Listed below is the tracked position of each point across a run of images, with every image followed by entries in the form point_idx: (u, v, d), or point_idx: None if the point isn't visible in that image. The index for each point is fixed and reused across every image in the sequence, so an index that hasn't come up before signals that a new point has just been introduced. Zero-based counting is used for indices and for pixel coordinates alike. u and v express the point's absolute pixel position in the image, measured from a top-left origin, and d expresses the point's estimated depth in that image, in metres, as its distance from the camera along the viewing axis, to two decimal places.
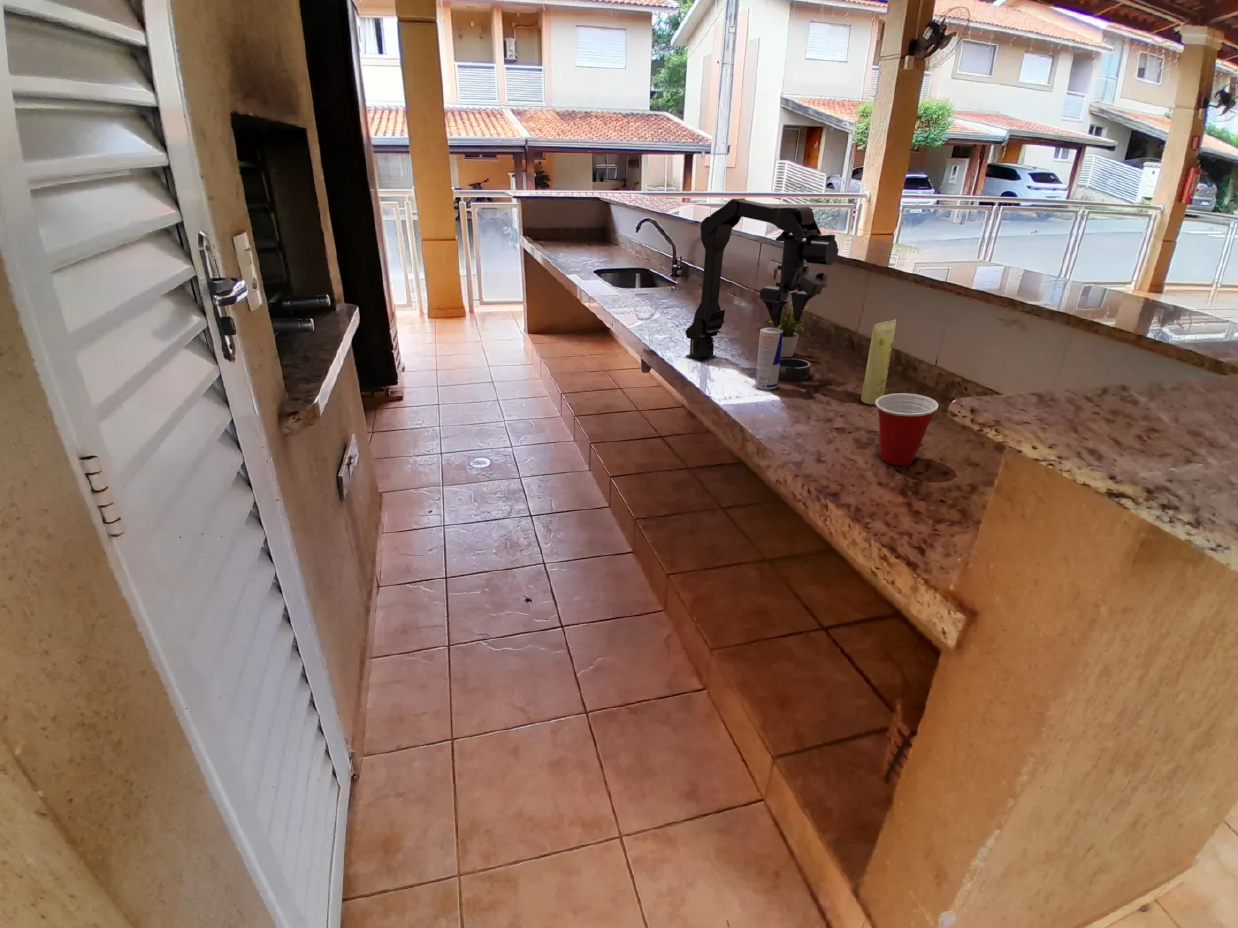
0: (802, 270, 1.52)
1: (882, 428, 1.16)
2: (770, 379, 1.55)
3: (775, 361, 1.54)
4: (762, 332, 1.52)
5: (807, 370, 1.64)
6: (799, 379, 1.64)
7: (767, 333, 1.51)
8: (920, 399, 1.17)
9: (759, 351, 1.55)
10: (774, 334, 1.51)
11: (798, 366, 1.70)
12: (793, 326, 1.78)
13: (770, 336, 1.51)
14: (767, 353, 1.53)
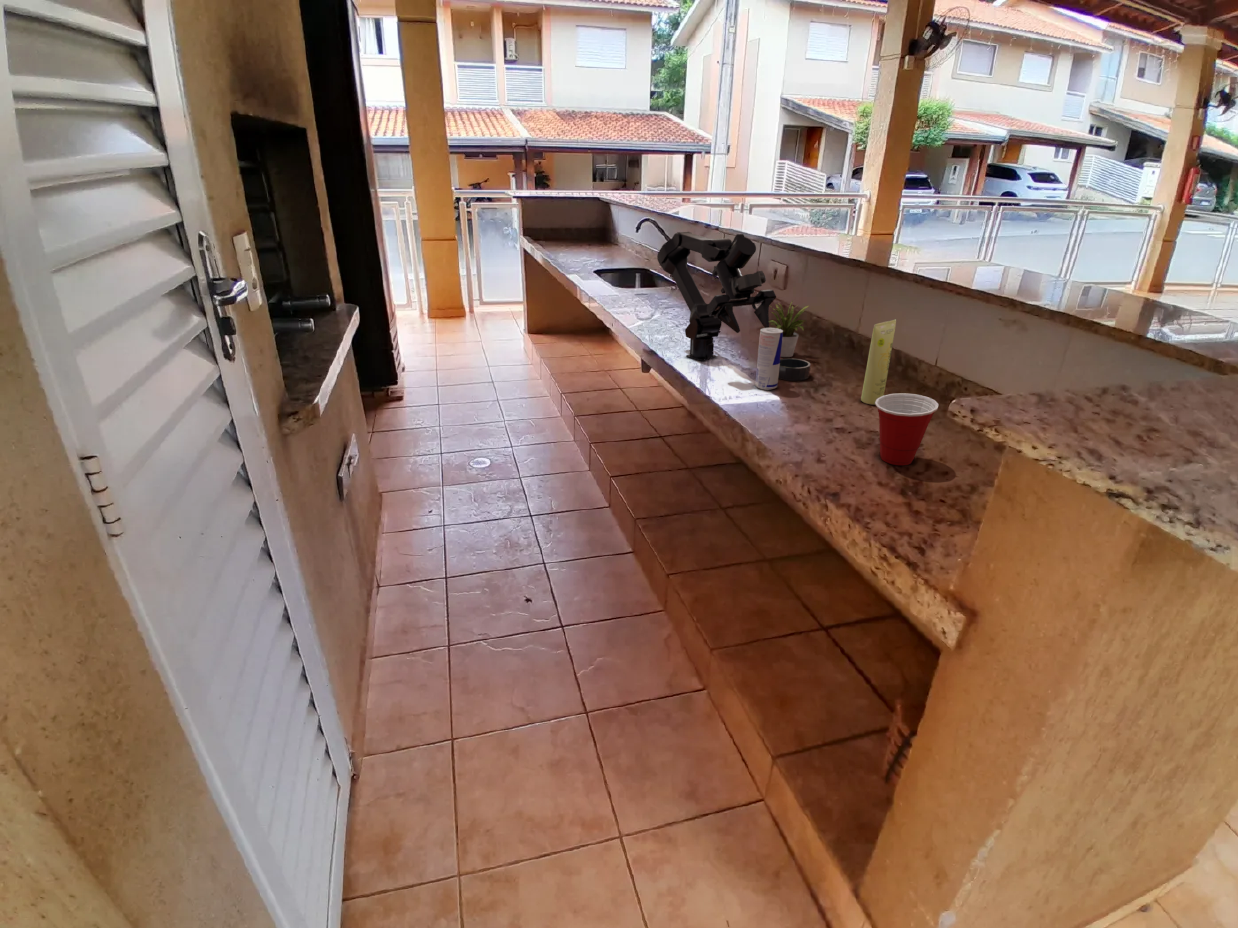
0: None
1: (882, 428, 1.16)
2: (770, 379, 1.55)
3: (775, 361, 1.54)
4: (762, 332, 1.52)
5: (807, 370, 1.64)
6: (799, 379, 1.64)
7: (767, 333, 1.51)
8: (920, 399, 1.17)
9: (759, 351, 1.55)
10: (774, 334, 1.51)
11: (798, 366, 1.70)
12: (793, 326, 1.78)
13: (770, 336, 1.51)
14: (767, 353, 1.53)
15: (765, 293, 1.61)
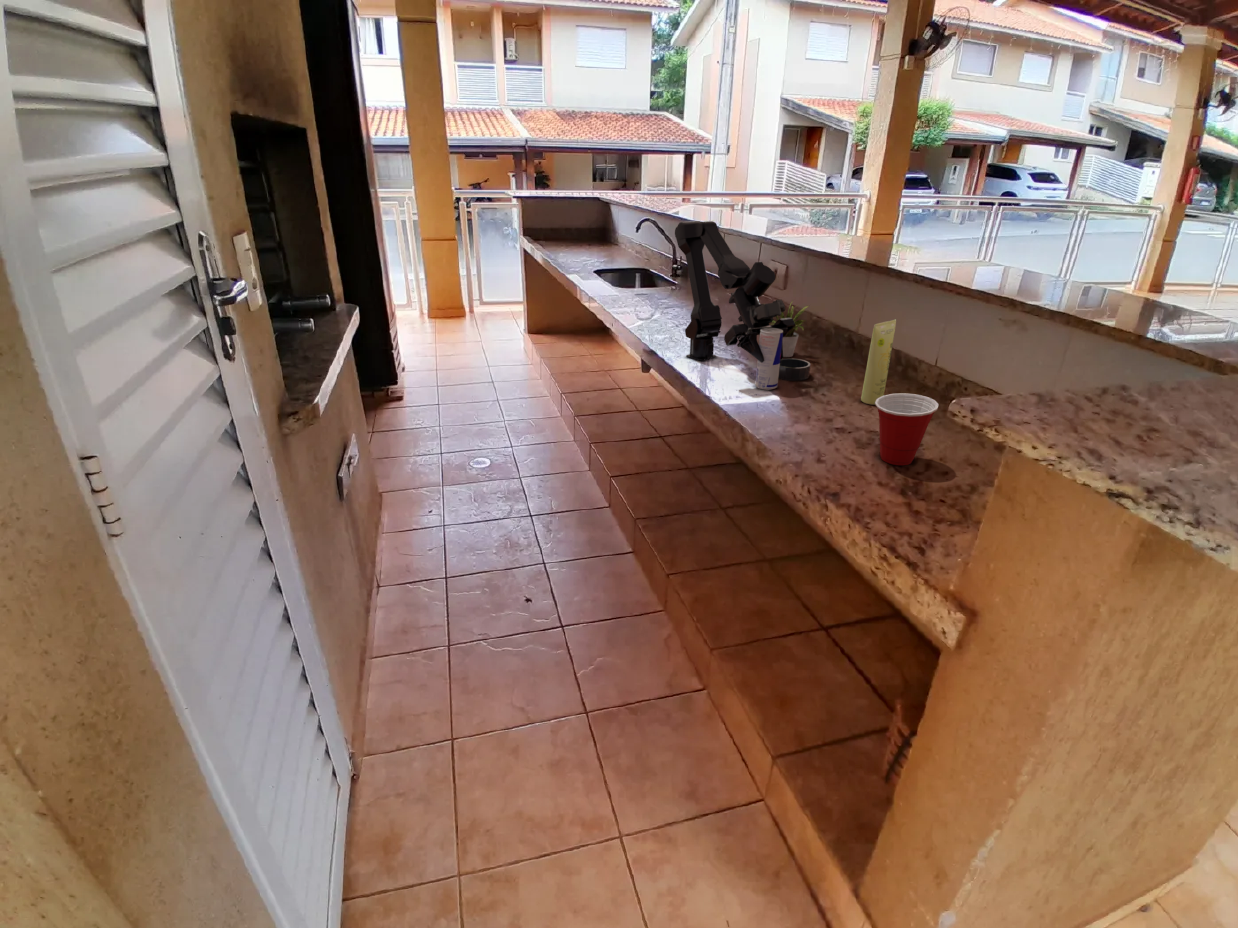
0: None
1: (882, 428, 1.16)
2: (770, 379, 1.55)
3: (775, 361, 1.54)
4: (762, 332, 1.52)
5: (807, 370, 1.64)
6: (799, 379, 1.64)
7: (767, 333, 1.51)
8: (920, 399, 1.17)
9: None
10: (774, 334, 1.51)
11: (798, 366, 1.70)
12: None
13: (770, 336, 1.51)
14: (767, 353, 1.53)
15: (784, 322, 1.57)
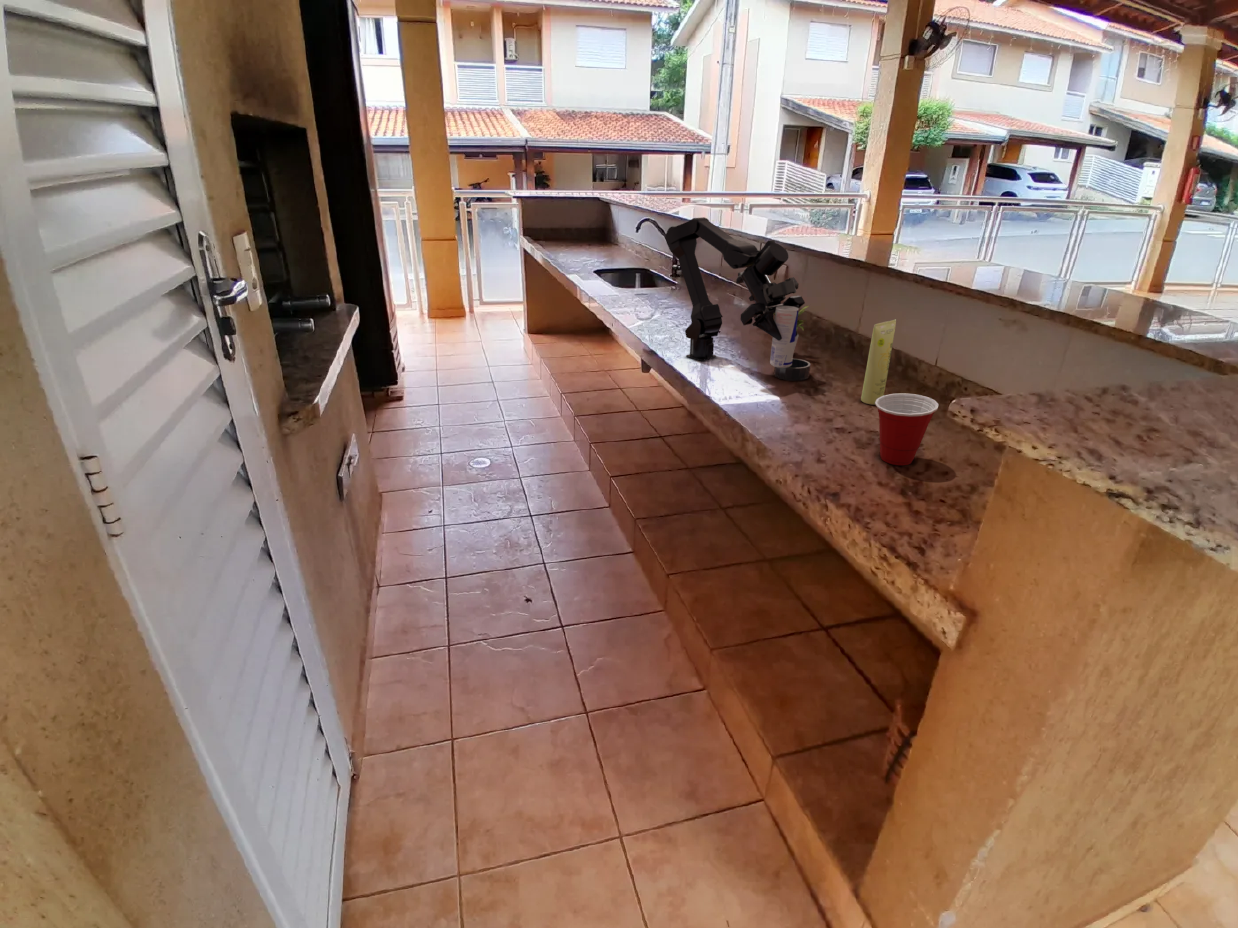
0: (769, 286, 1.57)
1: (882, 428, 1.16)
2: (787, 357, 1.57)
3: (792, 338, 1.55)
4: (779, 310, 1.53)
5: (807, 370, 1.64)
6: (799, 379, 1.64)
7: (785, 311, 1.52)
8: (920, 399, 1.17)
9: None
10: (792, 312, 1.52)
11: (798, 366, 1.70)
12: None
13: (788, 314, 1.52)
14: (784, 331, 1.54)
15: (795, 300, 1.58)
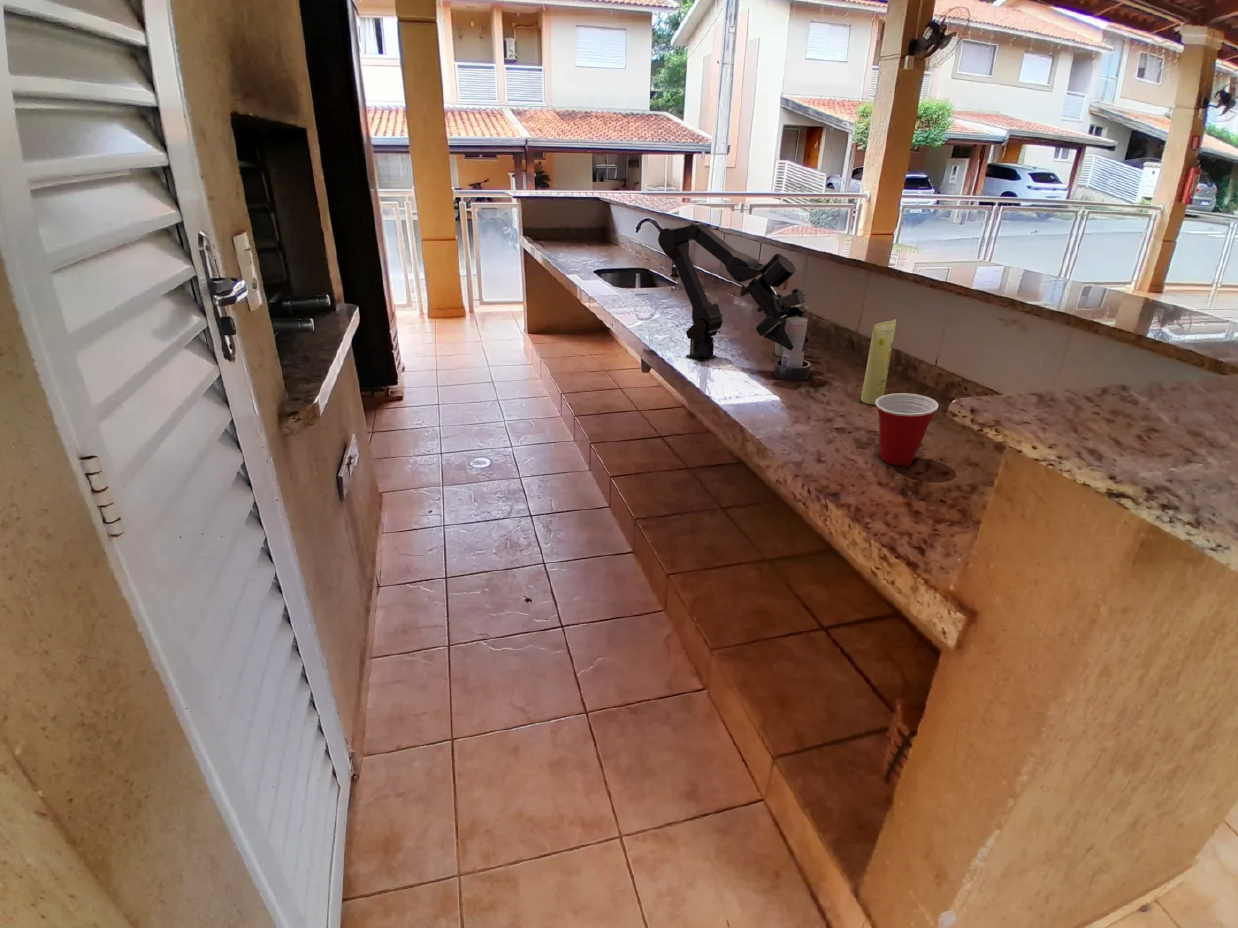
0: (777, 297, 1.63)
1: (882, 428, 1.16)
2: (799, 365, 1.64)
3: (803, 347, 1.63)
4: (791, 322, 1.60)
5: (807, 370, 1.64)
6: (799, 379, 1.64)
7: (797, 322, 1.59)
8: (920, 399, 1.17)
9: None
10: (804, 322, 1.59)
11: None
12: None
13: (800, 324, 1.59)
14: (797, 341, 1.61)
15: (799, 308, 1.66)
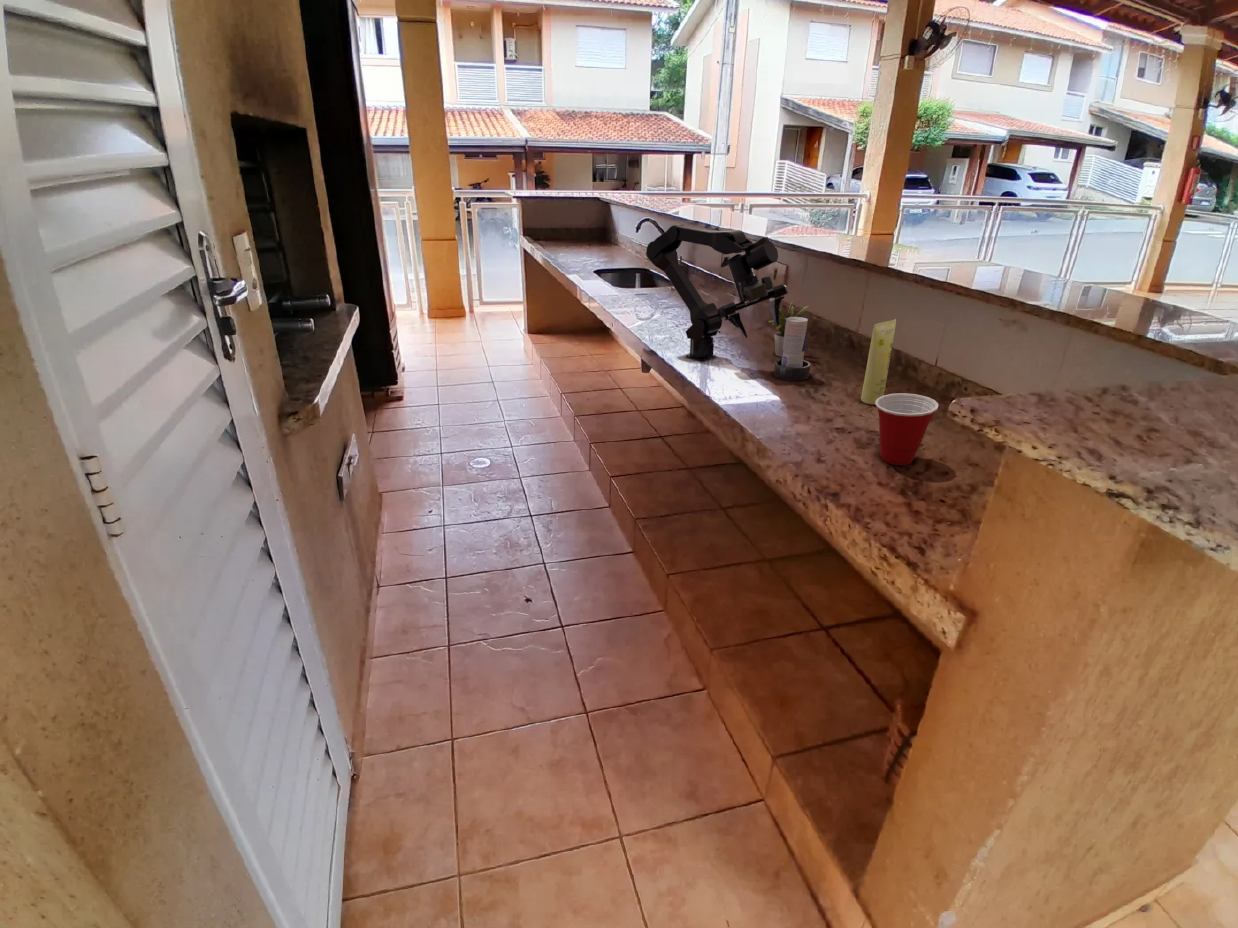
0: (748, 281, 1.63)
1: (882, 428, 1.16)
2: (799, 365, 1.64)
3: (803, 347, 1.63)
4: (791, 322, 1.60)
5: (807, 370, 1.64)
6: (799, 379, 1.64)
7: (797, 322, 1.59)
8: (920, 399, 1.17)
9: (788, 340, 1.62)
10: (804, 322, 1.59)
11: None
12: None
13: (800, 324, 1.59)
14: (797, 341, 1.61)
15: (775, 292, 1.64)
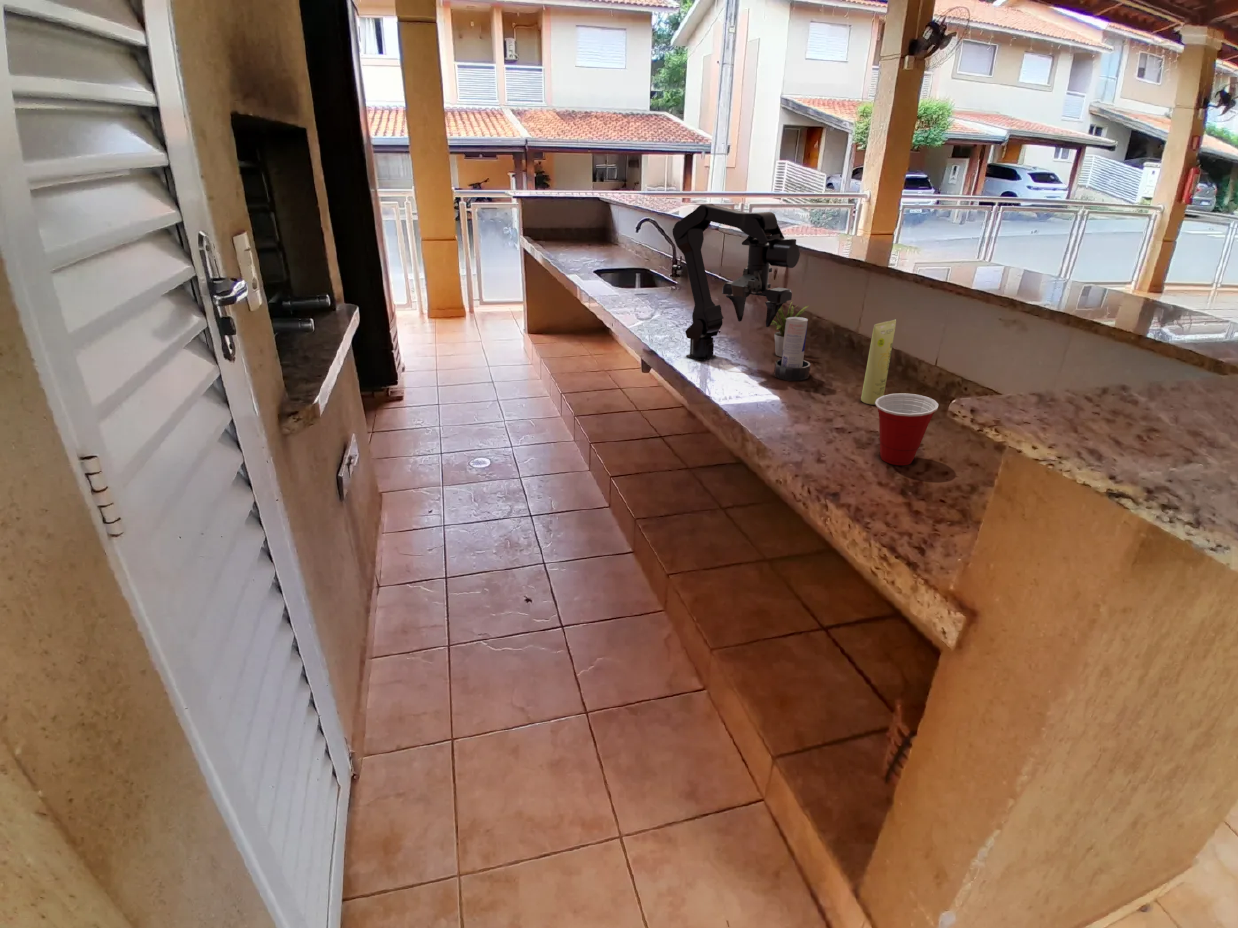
0: (751, 273, 1.59)
1: (882, 428, 1.16)
2: (799, 365, 1.64)
3: (803, 347, 1.63)
4: (791, 322, 1.60)
5: (807, 370, 1.64)
6: (799, 379, 1.64)
7: (797, 322, 1.59)
8: (920, 399, 1.17)
9: (788, 340, 1.62)
10: (804, 322, 1.59)
11: None
12: None
13: (800, 324, 1.59)
14: (797, 341, 1.61)
15: (767, 296, 1.58)
